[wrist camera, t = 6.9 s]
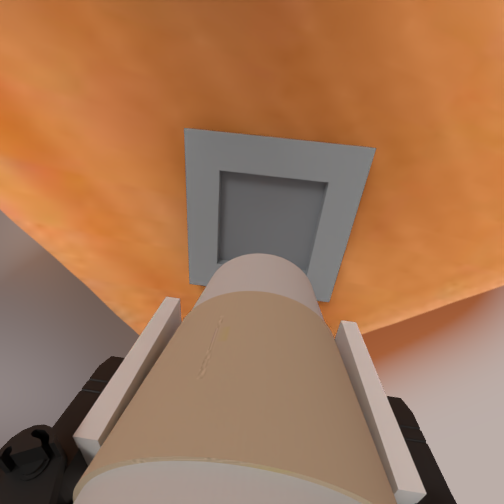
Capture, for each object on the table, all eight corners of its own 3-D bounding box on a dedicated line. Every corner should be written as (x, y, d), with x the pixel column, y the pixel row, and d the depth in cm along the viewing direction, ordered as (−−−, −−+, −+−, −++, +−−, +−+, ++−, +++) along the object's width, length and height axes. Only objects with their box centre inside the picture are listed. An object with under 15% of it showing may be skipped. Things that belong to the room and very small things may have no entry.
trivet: (190, 128, 24) (184, 128, 23) (368, 146, 24) (376, 148, 22) (194, 275, 33) (189, 283, 31) (326, 292, 32) (329, 302, 30)
